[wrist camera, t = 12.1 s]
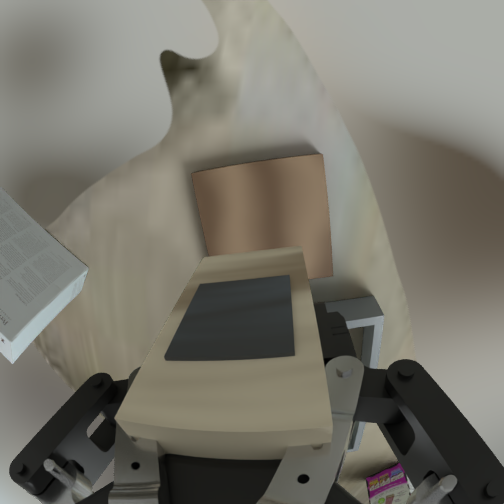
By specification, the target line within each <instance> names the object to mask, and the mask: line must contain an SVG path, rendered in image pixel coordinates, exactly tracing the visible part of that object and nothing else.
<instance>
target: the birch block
mask: <svg viewBox="0 0 504 504" xmlns="http://www.w3.org/2000/svg"><path fill="white" fill-rule="evenodd" d="M114 419H115V420H116V421H117V423H118V424H119V425H120V426H121V428H122V429H123V430H124V431H125V433H126V434H127V435H130V436H133V438H134V439H135V440H136V441H138V440H139V437H140V438H146V439H152V440H157V441H158V443H159V444H160V445H161V446H162V448H163V449H164V454H168V453H170V454H177V455H185V456H193V457H203V458H216V459H237V460H273V459H283V457H284V455H285V453H286V451H287V448H288V446H302V445H312V449H314V450H320V449H321V448H322V443H329V442H331V441H332V431H333V422H332V414H331V407H330V400H329V393H328V386H327V380H326V373H325V367H324V361H323V355H322V349H321V343H320V337H319V332H318V326H317V321H316V315H315V310H314V305H313V299H312V294H311V289H310V284H309V279H308V275H307V270H306V265H305V260H304V256H303V251H302V246H294V247H286V248H277V249H269V250H260V251H252V252H244V253H235V254H227V255H218V256H210V257H203V259H202V260H201V262H200V264H199V265H198V267H197V269H196V271H195V272H194V274H193V276H192V277H191V279H190V281H189V282H188V284H187V286H186V288H185V289H184V291H183V293H182V294H181V296H180V298H179V300H178V301H177V303H176V305H175V307H174V308H173V310H172V312H171V314H170V315H169V317H168V319H167V321H166V322H165V324H164V326H163V328H162V330H161V331H160V333H159V335H158V337H157V339H156V340H155V342H154V344H153V346H152V348H151V349H150V351H149V353H148V355H147V357H146V359H145V360H144V362H143V364H142V366H141V368H140V370H139V372H138V374H137V375H136V377H135V379H134V381H133V383H132V385H131V387H130V389H129V391H128V393H127V394H126V396H125V398H124V400H123V402H122V404H121V406H120V408H119V410H118V412H117V414H116V416H115V418H114Z"/></svg>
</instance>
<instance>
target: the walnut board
mask: <svg viewBox="0 0 504 504" xmlns="http://www.w3.org/2000/svg"><path fill="white" fill-rule="evenodd" d="M191 175H192V180H193V185H194V190H195V195H196V200H197V205H198V209H199V214H200V219H201V223H202V228H203V233H204V237H205V242H206V246H207V250H208V255H209V257H210V256H218V255H227V254H235V253H244V252H252V251H260V250H269V249H277V248H286V247H294V246H302V251H303V256H304V260H305V265H306V270H307V275H308V279H315V278H323V277H331V276H333V264H332V246H331V231H330V218H329V207H328V196H327V186H326V177H325V168H324V160H323V154H310V155H301V156H292V157H284V158H276V159H269V160H262V161H255V162H248V163H242V164H236V165H230V166H224V167H218V168H213V169H208V170H202V171H197V172H194V173H191Z"/></svg>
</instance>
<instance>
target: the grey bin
mask: <svg viewBox="0 0 504 504" xmlns="http://www.w3.org/2000/svg"><path fill="white" fill-rule="evenodd" d="M325 305H326V309H327V313H329V312H337V311H338V312H339V313H340V314H341V315H342V316H343V317H344V318H345V321H346V324H347V327H348V329H351V328H357V327H363V326H364V333H363V345H362V355H361V362H362V363H363V365H365V366H366V367H369V368H373V369H377V366H378V360H379V353H380V346H381V339H382V331H383V322H384V314H383V312H382V310H381V308H380V306H379V304H378V303H377V301H376V299H375V297H374V296H369V297H362V298H355V299H348V300H341V301H334V302H326V303H325ZM365 424H366V422H360V421H355V424H354V428H353V432H352V436H351V439H350V443H349V446H348V450H347V452H352V451H357V450H358V449H359V446H360V442H361V439H362V435H363V431H364V428H365Z"/></svg>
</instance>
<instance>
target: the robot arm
mask: <svg viewBox="0 0 504 504" xmlns="http://www.w3.org/2000/svg"><path fill="white" fill-rule="evenodd" d="M313 305H314V310H315V315H316V321H317V326H318V332H319V337H320V343H321V349H322V355H323V361H324V367H325V373H326V380H327V386H328V393H329V400H330V407H331V414H332V422H333V431H332V441H331V442H329V443H322V448H321V449H320V450H314V449H312V445H302V446H288V448H287V451H286V453H285V455H284V457H283V459H273V460H237V459H216V458H203V457H193V456H185V455H177V454H170V453H168V454H164V449H163V448H162V446H161V445H160V444H159V443H158V441H157V440H152V439H146V438H140V437H139V440H138V441H136V440H135V439H134V438H133V436H130V435H127V434H126V433H125V431H124V430H123V429H122V428H121V426H120V425H119V424H118V423H117V421H116V420H115V419H114V418H115V416H116V414H117V412H118V410H119V408H120V406H121V404H122V402H123V400H124V398H125V396H126V394H127V393H128V391H129V389H130V387H131V385H132V383H133V381H134V379H135V377H136V375H137V374H138V372H139V370H140V368H141V367H139V368H137V369H135V370H134V371H133V372H132V373H131V374H130V376H129V379H126V380H120V381H113V379H112V378H111V376H110V375H109V374H107V373H98V374H95V375H93V376H91V377H90V378H89V379H88V380H87V381H86V382H85V383H84V384H83V385H82V386H81V387H80V388H79V389H78V390H77V391H76V392H75V393H74V394H73V395H72V396H71V398H70V399H69V400H68V401H67V402H66V403H65V404H64V405H63V406H62V407H61V408H60V409H59V410H58V411H57V413H56V414H55V415H54V416H53V417H52V418H51V419H50V420H49V421H48V422H47V423H46V424H45V426H43V428H42V429H41V430H40V431H39V432H38V433H37V434H36V435H35V436H34V437H33V439H32V440H31V441H30V442H29V443H28V444H27V445H26V446H25V447H24V449H23V450H22V451H21V452H20V453H19V454H18V455H17V456H16V458H15V459H14V460H13V461H12V463H11V465H10V469H9V473H10V476H11V479H12V480H13V481H14V482H15V483H17V484H18V485H19V486H21V487H22V488H23V489H25V490H26V491H27V492H28V493H29V494H31V495H32V496H33V497H35V498H36V499H38V500H39V501H40V502H41V503H42V504H362V503H361V502H359V501H358V500H357V499H356V498H355V497H353V496H352V495H351V494H350V493H349V492H347V491H346V490H345V489H344V488H343V487H342V486H340V485H339V484H338V483H337V482H338V479H339V476H340V473H341V470H342V467H343V464H344V460H345V457H346V453H347V450H348V446H349V443H350V439H351V436H352V432H353V428H354V424H355V421H360V422H371V423H377V425H378V426H379V428H380V430H381V432H382V433H383V435H384V437H385V438H386V440H387V442H388V444H389V445H390V447H391V449H392V450H393V452H394V454H395V456H396V457H397V459H398V461H399V463H400V464H401V466H402V468H403V470H404V471H405V473H406V475H407V477H408V478H409V480H410V482H411V484H412V486H413V487H414V489H415V490H414V491H413V492H412V493H411V494H410V496H409V497H408V499H407V502H406V504H503V503H504V467H503V466H502V464H501V463H500V462H499V460H498V459H497V458H496V456H495V455H494V454H493V452H492V451H491V450H490V448H489V447H488V446H487V445H486V443H485V442H484V441H483V439H482V438H481V437H480V436H479V434H478V433H477V432H476V430H475V429H474V428H473V427H472V425H471V424H470V423H469V422H468V420H467V419H466V418H465V417H464V415H463V414H462V413H461V412H460V410H459V409H458V408H457V407H456V406H455V404H454V403H453V402H452V401H451V400H450V398H449V397H448V396H447V395H446V394H445V393H444V391H443V390H442V389H441V388H440V387H439V385H438V384H437V383H436V382H435V381H434V380H433V378H432V377H431V376H430V375H429V374H428V373H427V372H426V370H424V368H423V367H422V366H421V365H420V364H419V363H417V362H416V361H413V360H409V359H403V360H398V361H396V362H394V363H392V364H391V365H390V366H389V368H388V370H386V369H373V368H369V367H366V366H365V365H363V363H362V362H361V361H360V360H359V359H357V357H356V353H355V350H354V347H353V343H352V340H351V337H350V334H349V331H348V327H347V324H346V321H345V318H344V317H343V316H342V315H341V314H340V313H339V312H338V311H337V312H329V313H327V309H326V305H325V302H318V303H313ZM100 412H101V413H102V415H103V416H104V417H105V419H104V421H103V422H102V423H101V424H100V425H99V427H98V428H97V429H96V430H95V431H94V433H93V434H92V435H91V436H90V438H88V436H87V432H86V431H87V428H88V427H89V425H90V424H91V423H92V422H93V421H94V419H95V418H96V417H97V416H98V415H99V413H100ZM113 458H114V481H113V482H111V483H109V484H108V485H106V486H105V487H103V488H101V489H100V490H98V491H96V492H95V493H94V492H93V491H92V486H93V485H94V484H95V482H96V481H97V480H98V478H99V477H100V476H101V474H102V473H103V471H104V470H105V469H106V468H107V466H108V465H109V464H110V462H111V461H112V459H113Z"/></svg>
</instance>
